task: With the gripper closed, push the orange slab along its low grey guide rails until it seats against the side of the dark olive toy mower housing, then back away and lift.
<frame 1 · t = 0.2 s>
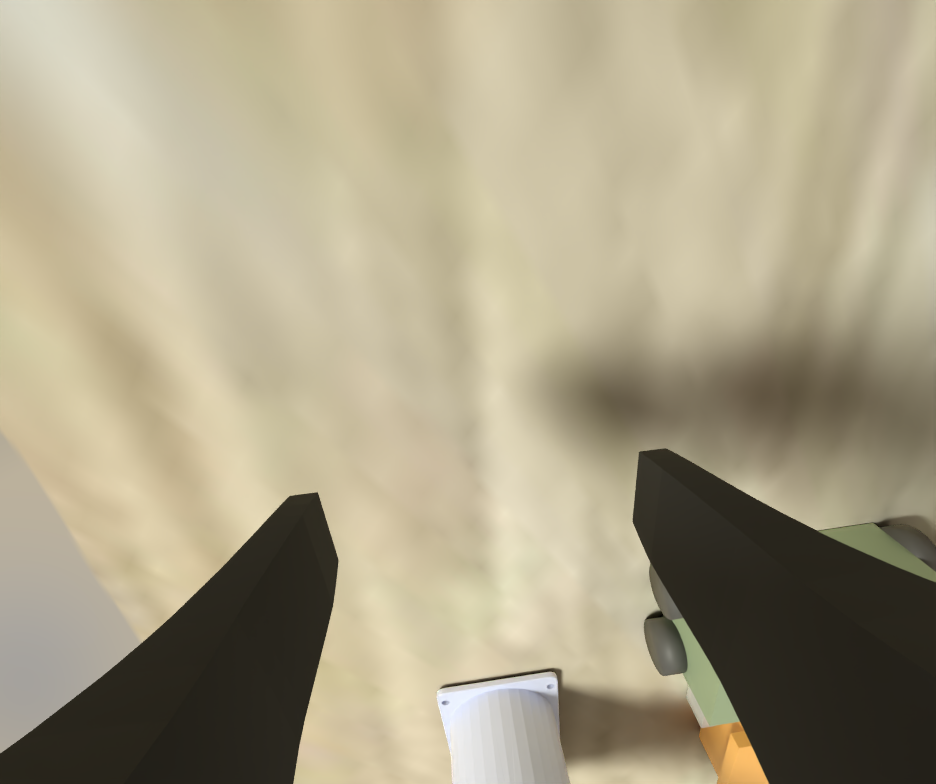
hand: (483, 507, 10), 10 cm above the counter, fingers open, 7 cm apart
mower housing: (754, 607, 28), on the counter
orange slab: (752, 735, 31), point 2 cm above the counter, slide at 5.0 cm
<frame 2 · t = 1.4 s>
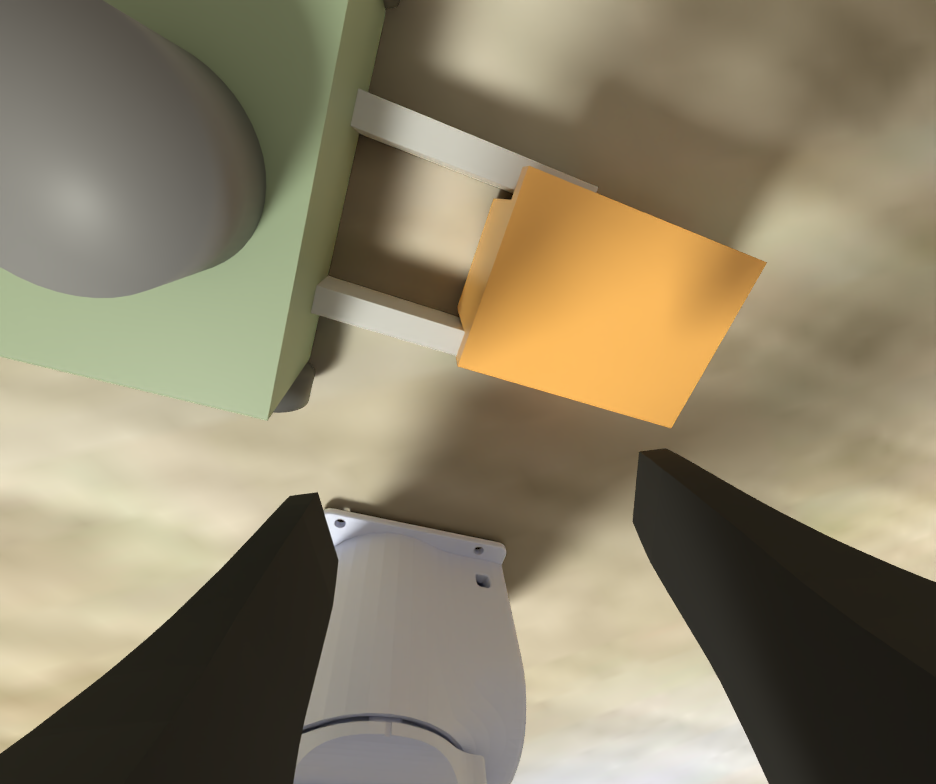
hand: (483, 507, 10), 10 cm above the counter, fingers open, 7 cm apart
mower housing: (314, 198, 16), on the counter
orange slab: (586, 300, 16), point 2 cm above the counter, slide at 5.0 cm
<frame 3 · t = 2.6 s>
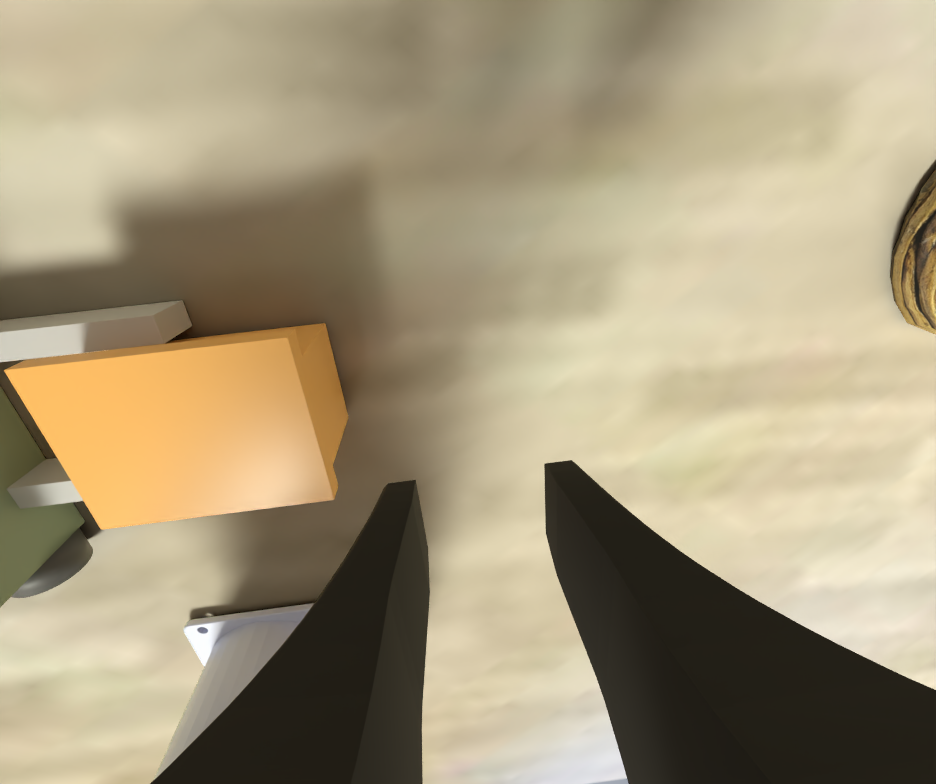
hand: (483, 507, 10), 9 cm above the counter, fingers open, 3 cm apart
orange slab: (215, 409, 16), point 2 cm above the counter, slide at 5.0 cm
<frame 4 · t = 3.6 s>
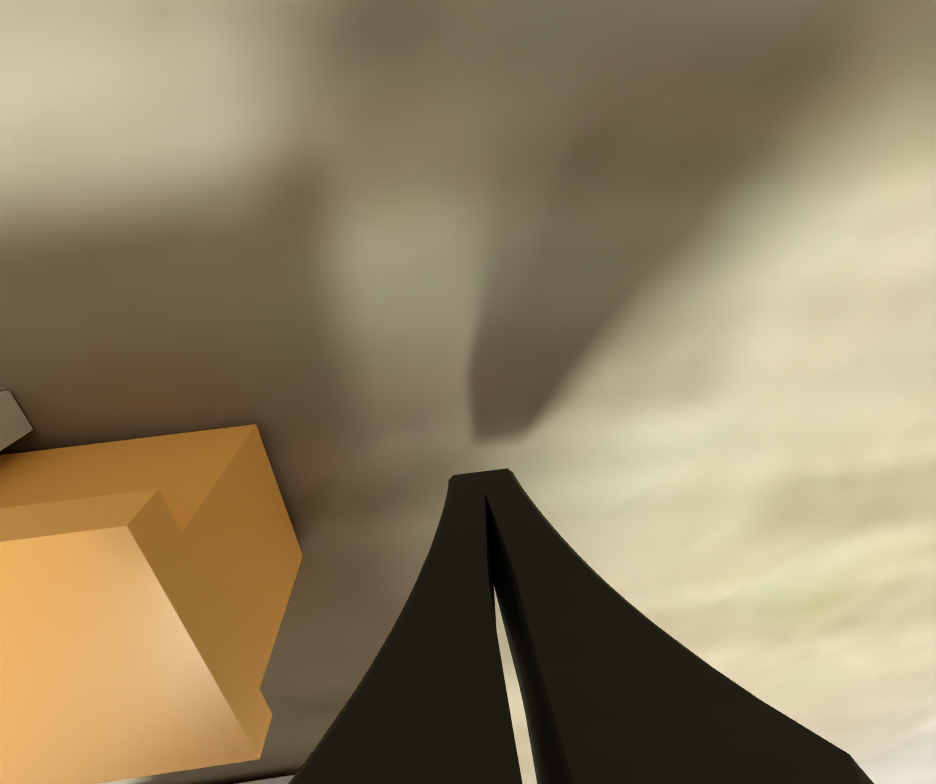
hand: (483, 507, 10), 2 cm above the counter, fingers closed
orange slab: (54, 588, 9), point 2 cm above the counter, slide at 5.0 cm
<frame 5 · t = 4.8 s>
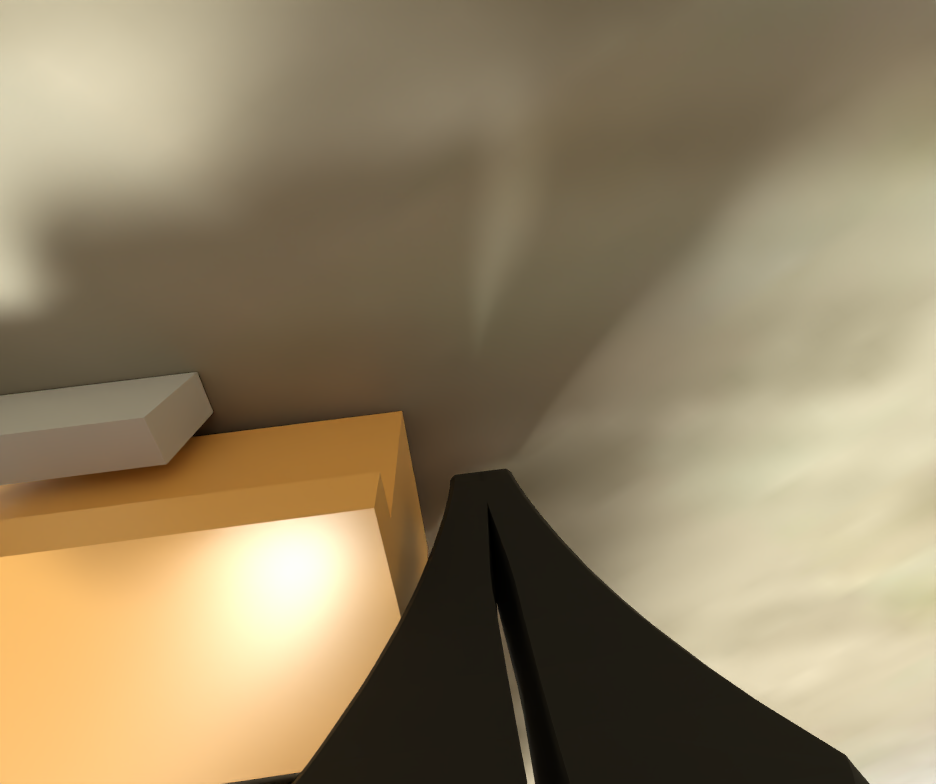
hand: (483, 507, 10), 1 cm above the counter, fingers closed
orange slab: (215, 577, 9), point 2 cm above the counter, slide at 4.2 cm, touching gripper
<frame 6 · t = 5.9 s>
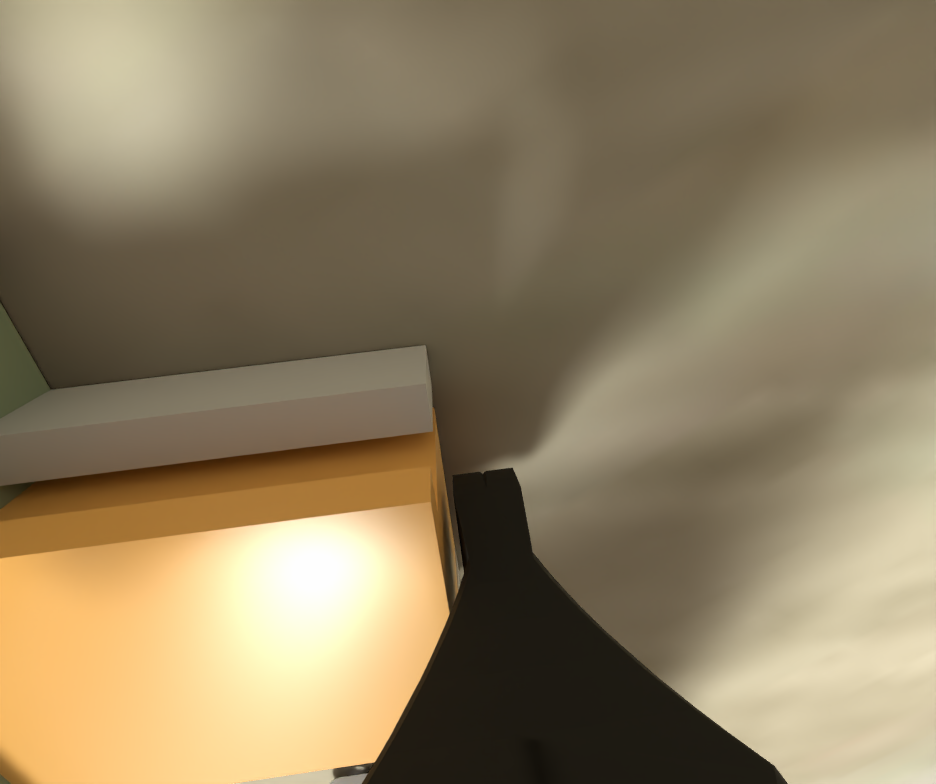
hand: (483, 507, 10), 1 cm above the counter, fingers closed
mower housing: (81, 521, 11), on the counter
orange slab: (251, 573, 9), point 2 cm above the counter, slide at -0.1 cm, touching gripper, mower housing
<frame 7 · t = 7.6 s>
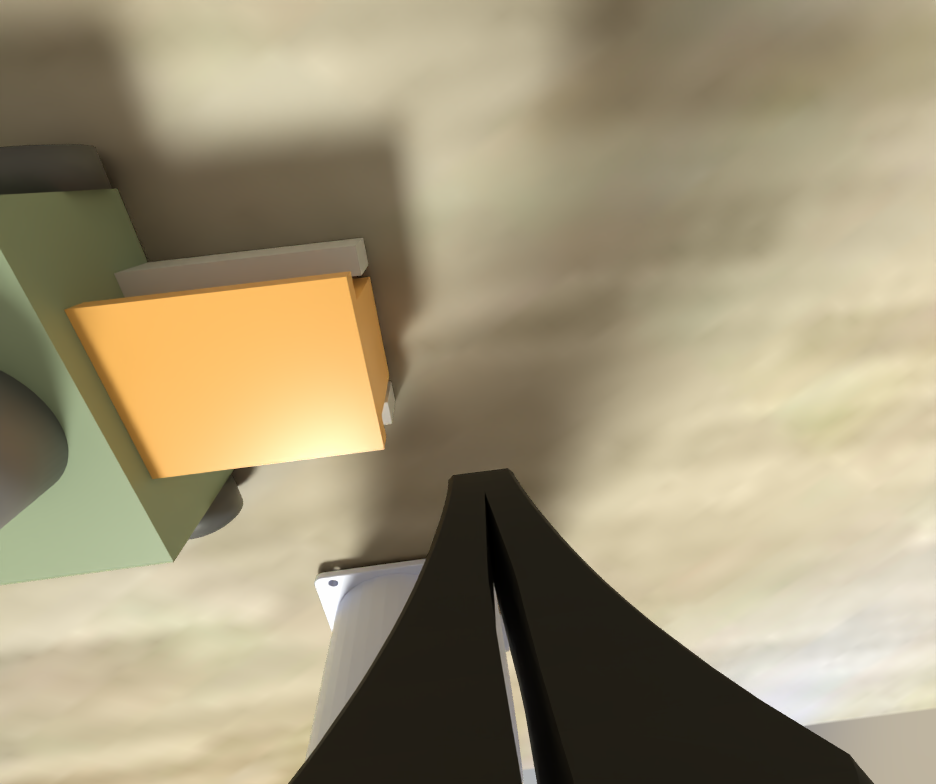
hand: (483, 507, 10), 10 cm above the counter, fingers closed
mower housing: (159, 353, 18), on the counter
orange slab: (263, 360, 16), point 2 cm above the counter, slide at 0.0 cm
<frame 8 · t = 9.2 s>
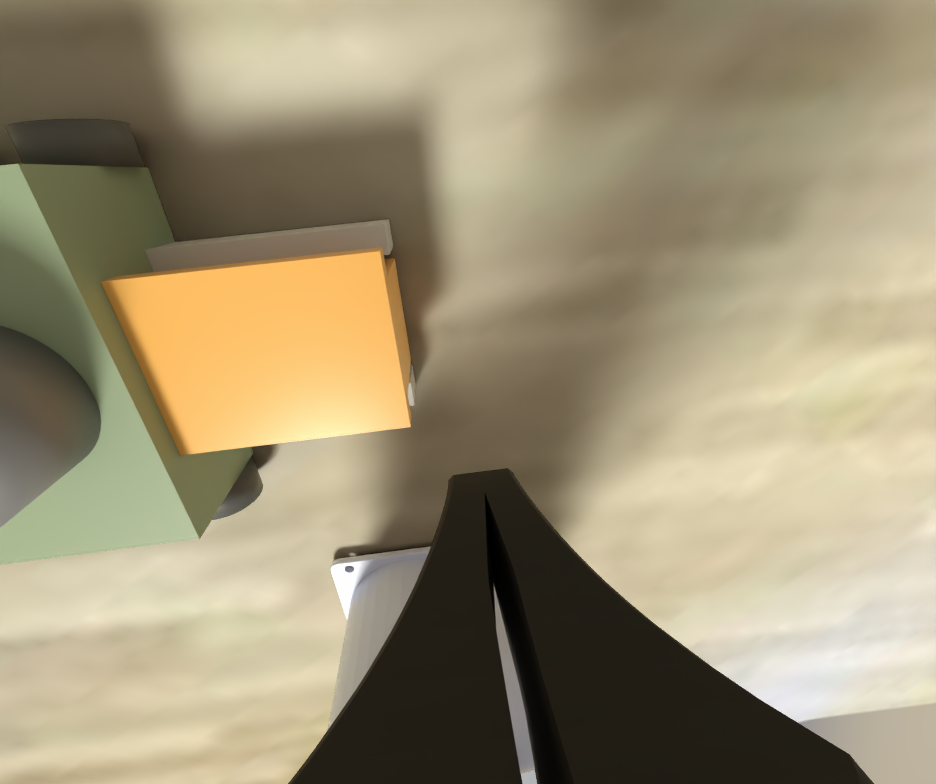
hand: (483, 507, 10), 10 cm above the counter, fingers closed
mower housing: (183, 333, 18), on the counter
orange slab: (290, 339, 16), point 2 cm above the counter, slide at 0.0 cm
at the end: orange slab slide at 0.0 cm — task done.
